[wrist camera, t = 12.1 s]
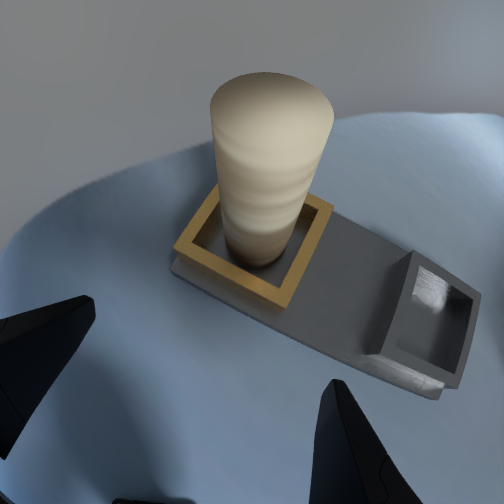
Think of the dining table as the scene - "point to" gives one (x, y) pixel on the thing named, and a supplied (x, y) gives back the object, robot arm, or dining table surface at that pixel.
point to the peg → (266, 159)
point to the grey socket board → (342, 296)
